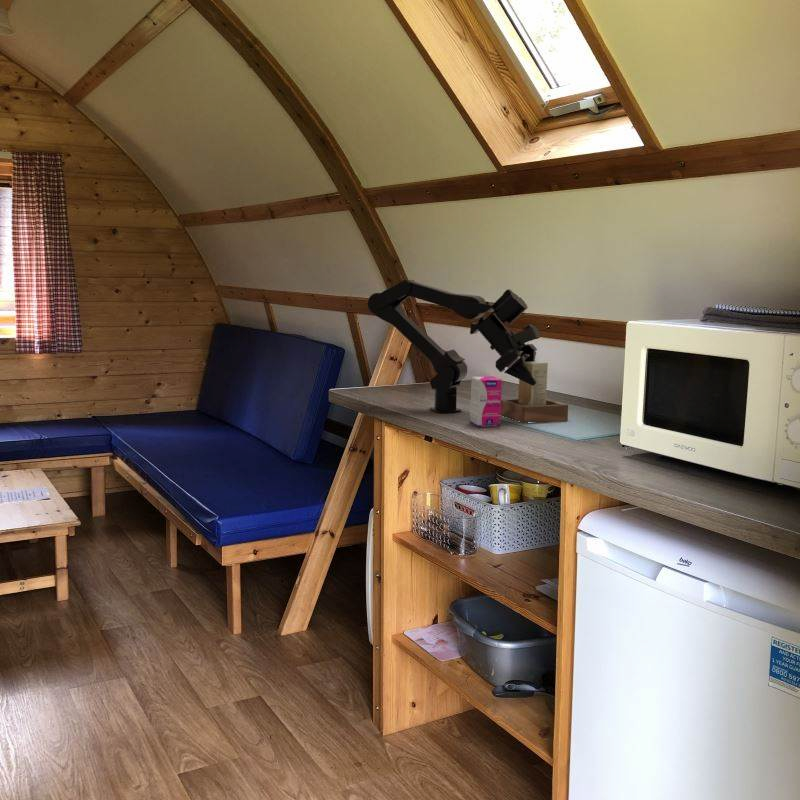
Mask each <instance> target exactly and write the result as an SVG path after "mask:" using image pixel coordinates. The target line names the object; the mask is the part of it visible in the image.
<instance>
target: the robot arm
mask: <svg viewBox="0 0 800 800" xmlns="http://www.w3.org/2000/svg"><path fill="white" fill-rule="evenodd" d="M410 297H411V298H414V299H419V300H422V301H424V302H428V303H431V304H435V305H437V306H440V307H444V308H446V309H448V310H449V311H451V312H453V313H455V314H456V315H458V316H460V317H462V318H463V319H466V320H473V319H478V321H476V322H471V323H470V324H469V325H470V330H469V334H470V335H474V334H477V333H478V332H479V334H481V336H482V337H483V338H484V339H485V341H487V342H488V343H489V345H490V346H489V348H490V349H491V351H494V350H495V351H496V353H497V354H498V356H500V357H499V358H498V359H497V360H496V361H495V368H496V369H497V370H498V371H499V372H500V373H502V372H504V374H507V375H510V376H511V377H514V378H516V379H518V380H519V379H520V380H522V381H524V382H526V383H528V384H530V385H532V386H534V385H535V384H536V381H535V380H534V378H533V376H532V375H531V373H530V372H529V370H528V369H527V367H526V366H525V362H533V361H536V355H537V350H538V349H537V347H536V346H535V345H534V344H532V343H530V342H531V341H534V340H537V339H540V338H541V336H540V333H539V332H540V330H539V328H537V326H536V325H535V326H533V325H532V324H531V323H530V324H528V325H525V326H523V330H521V331H518V332H517V333H515V332H514V330H509V329H508V328H507V327H506V326H505V325H504V324H507V323H509V324H512V323H513V322H515V321H516V320H517V319H518V318H519V317H520V316H521V315H522V314H523V313H524V312H525V311H526V310H528V308H529V307H528V305H527V303H526V302H525V301H524V299H523V298H522V297H520V296H519V295H518V294H516V293H515V292H514V291H512V290H511V289H509V288H508V289H506V290H505V291H504V292H503V293H502V295H501V296H500V297H499V298H498V299H497V300H495V302H494V301H492V302H491V301H487V300H485V298H484V297H482V296H481V295H474V294H464V293H454V292H450V291H447V290H443V289H440V288H437V287H434V286H430V285H427V284H424V283H421V282H417V281H415V280H414V279H403V280H401V281H400V282H398V283H397V284H396V285H393V286H390V287H389V288H387V289H385V290H383V291H382V292H374V293H373V294H371V295H370V296H369V297H368V299H367V308H368V310H369V312H370V313H372V314H373V315H375V316H376V317H378V318H379V319H380V320H382V321H384V322H387V324H391V325H392V326H393V327H395V329H396V330H397V331H398V332H399V333H401V335H403V336H404V337H405V338H406V339H407V341H409V342H410V343H411V344H412V345H413V346H414V347H415V348H416V349H417V350H418V351H419V352H420V353H421V354H422V355H423V356H424V357H426V359H428V361H429V362H430V364H431V366H432V368H433V371H434V372H435V373H436V375H434V376H433V377H432V378H431V379H430V380H429V384H430V386H431V389H432V390H434V405H433V407H429V410H431V411H433V412H436V413H438V414H443V413H444V414H445V413H459V412H460V413H461V412H462V409H460V408H457V401H458V400H457V398H458V394H457V392H458V391H457V390H458V389H457V388H458V387H459V386H460V385H461V383H462V380H464V379H465V378H466V376H467V374H468V365H467V364H466V362H465V360H466V359H465V358H463V357H461V356H460V355H459V353H458V352H457V351H456V350H455V349H450V350H445V349H444V348H442V347H441V346H440V345H439V344H437V342H435V341H434V339H432V338H431V336H430V335H429V334H427V333H426V332H425V331H424V330H423V329H422V328H421V327H420V326H419V325H418V324H416V323H415V322H414V321H413V320H412V319H411V318H410V317H409V316H408V315H407V314H406V312H405V310H404V308H403V307H402V304H401V303H402V302H404V301H405V300H406V299H408V298H410ZM486 313H490V314H489V315H488V316H484V315H485V314H486ZM479 318H480V319H479ZM506 368H507V369H506Z"/></svg>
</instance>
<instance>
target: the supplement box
mask: <svg viewBox="0 0 800 800" xmlns="http://www.w3.org/2000/svg"><path fill="white" fill-rule="evenodd" d="M470 385H471V387H470V388H471V390H470V410H469V413H470V415H469V424H470V425H473V426H474V427H476V428H488V427H489V428H491V427H498V428H499V427H500V425H501V424H500V423H501V416H500V412H501V400H502V388H503V387H502V385H503V379H500V378H498V377H496V376H490V375H489V376H488V375H487V376H482V375H481V376H472V377H471V384H470Z"/></svg>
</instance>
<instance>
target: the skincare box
mask: <svg viewBox="0 0 800 800" xmlns="http://www.w3.org/2000/svg"><path fill="white" fill-rule="evenodd" d="M525 366H526V367H527V369H528V370H529V372H530V373H531V375H532V376H533V378H534V380H535V381H536V384H535V385H534V386H532V385H530V384H528V383H526V382H524V381H522V380H520V379H518V380H519V381H518V397H517V399H518V404H520V405H523V406H543V405H546V399H547V389H548V387H547V386H548V385H547V384H548V362H545V361H538V360H537V361H536V360H535V361H533V362H525Z"/></svg>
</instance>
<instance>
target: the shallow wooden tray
mask: <svg viewBox="0 0 800 800" xmlns="http://www.w3.org/2000/svg"><path fill="white" fill-rule="evenodd" d="M500 415H501V416H500V417H502V416H504V417H503V418H505V417H507V418H506V419H508V418H510V419H509V420H511V419H513V420H512V421H514V420H516V421H515V422H517V421H520V422H523V423H522V424H524V423H528V422H543V423H554V422H555V421H557V422H565V421H567V422H568V420H569V419H568V418H569V404H568V403H562V402H560V401H559V402H558V401H555V400H552V399H548V398H546V405H543V406H523V405H520V404H518V398H512V399H511V398H509V399H501V412H500ZM553 421H554V422H553ZM520 422H519V423H520ZM555 423H556V422H555Z"/></svg>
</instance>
